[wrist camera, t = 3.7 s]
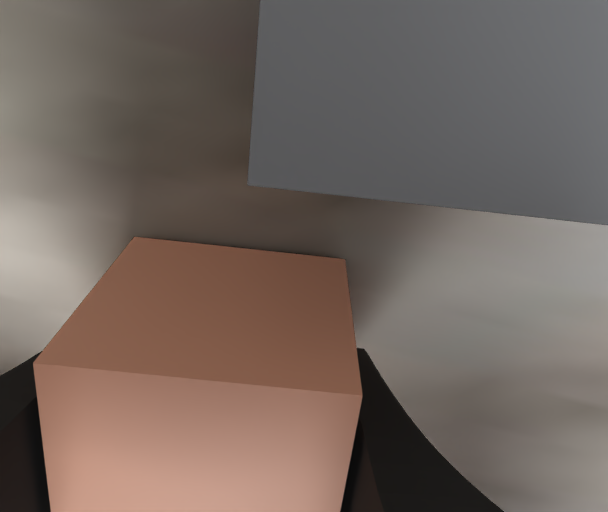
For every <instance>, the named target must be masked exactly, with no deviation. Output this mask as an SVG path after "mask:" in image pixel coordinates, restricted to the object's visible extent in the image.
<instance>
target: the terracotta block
mask: <svg viewBox="0 0 608 512" xmlns="http://www.w3.org/2000/svg"><path fill="white" fill-rule="evenodd" d="M33 368H34V376H35V384H36V392H37V401H38V409H39V417H40V426H41V434H42V442H43V451H44V459H45V467H46V475H47V484H48V492H49V500H50V509H51V512H340V510H341V505H342V500H343V494H344V489H345V484H346V479H347V474H348V469H349V463H350V458H351V453H352V448H353V443H354V438H355V433H356V427H357V422H358V417H359V412H360V407H361V402H362V396H363V395H362V387H361V379H360V371H359V364H358V356H357V348H356V340H355V333H354V325H353V317H352V309H351V302H350V294H349V286H348V279H347V271H346V263H345V259H339V258H329V257H320V256H311V255H301V254H292V253H282V252H273V251H264V250H254V249H245V248H236V247H226V246H217V245H208V244H198V243H189V242H180V241H170V240H161V239H151V238H142V237H134V238H133V239H132V240H131V241H130V243H129V244H128V245H127V246H126V248H125V249H124V250H123V251H122V253H121V254H120V255H119V256H118V258H117V259H116V260H115V261H114V263H113V264H112V265H111V266H110V268H109V269H108V270H107V271H106V273H105V274H104V275H103V276H102V278H101V279H100V280H99V281H98V283H97V284H96V285H95V286H94V288H93V289H92V290H91V291H90V293H89V294H88V295H87V296H86V298H85V299H84V300H83V301H82V303H81V304H80V305H79V306H78V308H77V309H76V310H75V311H74V312H73V314H72V315H71V316H70V317H69V319H68V320H67V321H66V322H65V324H64V325H63V326H62V327H61V329H60V330H59V331H58V332H57V334H56V335H55V336H54V337H53V339H52V340H51V341H50V342H49V344H48V345H47V346H46V347H45V349H44V350H43V351H42V352H41V354H40V355H39V356H38V357H37V359H36V360H35V361H34V362H33Z"/></svg>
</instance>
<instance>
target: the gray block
mask: <svg viewBox="0 0 608 512" xmlns="http://www.w3.org/2000/svg"><path fill="white" fill-rule="evenodd" d="M247 185H249V186H258V187H267V188H276V189H285V190H294V191H303V192H312V193H321V194H330V195H339V196H348V197H357V198H366V199H375V200H384V201H393V202H402V203H411V204H420V205H429V206H438V207H447V208H456V209H466V210H475V211H484V212H493V213H502V214H511V215H520V216H529V217H538V218H547V219H556V220H565V221H574V222H583V223H592V224H601V225H608V0H260V9H259V23H258V38H257V52H256V67H255V81H254V96H253V110H252V125H251V139H250V154H249V168H248V183H247Z"/></svg>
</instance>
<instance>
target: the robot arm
mask: <svg viewBox="0 0 608 512" xmlns="http://www.w3.org/2000/svg"><path fill="white" fill-rule="evenodd" d="M41 352H42V351H41ZM41 352H40V353H38V354H37V355H35V356H33V357H32V358H30V359H28V360H27V361H25V362H24V363H22V364H20V365H19V366H17V367H15V368H13V369H12V370H10V371H8V372H6V373H5V374H3V375H1V376H0V512H51V509H50V500H49V492H48V484H47V475H46V467H45V459H44V451H43V442H42V434H41V426H40V417H39V409H38V401H37V392H36V384H35V376H34V368H33V362H34V361H35V360H36V359H37V357H38V356H39V355H40V354H41ZM357 356H358V364H359V371H360V379H361V387H362V395H363V396H362V402H361V407H360V412H359V417H358V422H357V427H356V433H355V438H354V443H353V448H352V453H351V458H350V463H349V469H348V474H347V479H346V484H345V489H344V494H343V500H342V505H341V510H340V512H504V511H503V510H501V509H500V508H499V507H498V506H496V505H495V504H494V503H493V502H491V501H490V500H489V499H488V498H487V497H486V496H485V495H483V494H482V493H481V492H480V491H479V490H478V489H477V488H475V487H474V486H473V485H472V484H471V483H470V482H469V481H467V480H466V479H465V478H464V477H463V476H462V475H461V474H460V473H459V472H458V471H457V470H456V469H455V468H454V467H453V466H452V465H451V464H450V463H449V462H448V461H447V460H446V459H445V458H444V457H443V456H442V455H441V454H440V453H439V452H438V451H437V450H436V449H435V448H434V446H433V445H432V444H431V443H430V442H429V441H428V440H427V438H426V437H425V436H424V435H423V434H422V432H421V431H420V430H419V429H418V427H417V426H416V425H415V424H414V422H413V421H412V420H411V418H410V417H409V416H408V415H407V413H406V412H405V410H404V409H403V408H402V406H401V405H400V403H399V402H398V401H397V399H396V398H395V396H394V395H393V394H392V392H391V391H390V389H389V388H388V386H387V385H386V383H385V381H384V380H383V378H382V377H381V375H380V373H379V372H378V370H377V369H376V367H375V365H374V364H373V362H372V360H371V358H370V357H369V355H368V353H367V352H366V351H365V350H364V349H361V348H357Z"/></svg>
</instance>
